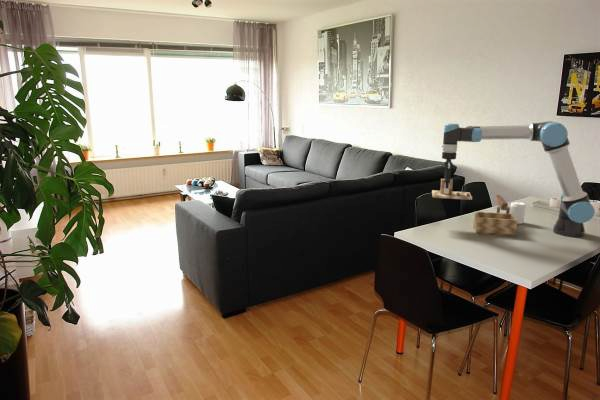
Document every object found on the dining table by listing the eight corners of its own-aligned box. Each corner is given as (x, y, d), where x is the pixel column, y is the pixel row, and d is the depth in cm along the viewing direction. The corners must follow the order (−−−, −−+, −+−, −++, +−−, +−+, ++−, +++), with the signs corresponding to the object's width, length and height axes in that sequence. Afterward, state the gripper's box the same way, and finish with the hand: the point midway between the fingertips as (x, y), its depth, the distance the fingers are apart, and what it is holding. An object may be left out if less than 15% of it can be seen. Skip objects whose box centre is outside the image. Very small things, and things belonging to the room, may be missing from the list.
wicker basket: (508, 226, 258) (510, 207, 255) (515, 236, 239) (517, 215, 236) (471, 223, 263) (473, 204, 260) (476, 233, 244) (478, 213, 241)
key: (500, 201, 274) (500, 194, 273) (507, 210, 252) (507, 203, 251) (494, 200, 275) (495, 194, 274) (501, 209, 253) (502, 203, 252)
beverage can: (509, 223, 263) (511, 204, 261) (508, 220, 271) (510, 201, 268) (524, 225, 261) (526, 205, 258) (522, 221, 268) (525, 202, 265)
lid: (469, 194, 254) (470, 178, 252) (471, 199, 240) (473, 183, 238) (431, 192, 259) (433, 176, 257) (432, 197, 245) (433, 181, 243)
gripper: (441, 149, 254) (438, 189, 259) (443, 153, 237) (439, 195, 243) (455, 150, 252) (451, 190, 257) (457, 153, 236) (454, 196, 241)
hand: (445, 192), depth 250 cm, fingers closed on lid, 4 cm apart
